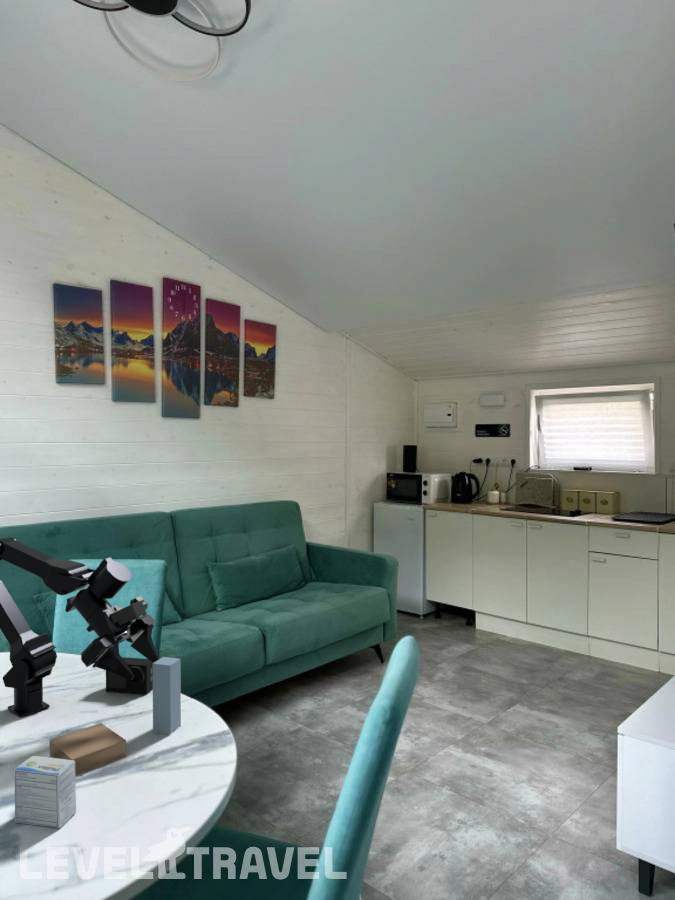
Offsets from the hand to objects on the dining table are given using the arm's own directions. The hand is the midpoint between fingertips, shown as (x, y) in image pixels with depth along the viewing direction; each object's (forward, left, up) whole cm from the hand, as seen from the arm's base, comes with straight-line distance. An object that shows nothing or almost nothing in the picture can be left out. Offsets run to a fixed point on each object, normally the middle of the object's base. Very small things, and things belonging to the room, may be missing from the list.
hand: (145, 670), depth 131 cm
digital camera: (-19, +8, -12) cm, 23 cm away
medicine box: (+16, -28, -12) cm, 34 cm away
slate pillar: (+5, +2, -12) cm, 13 cm away
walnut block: (+3, -14, -12) cm, 18 cm away
